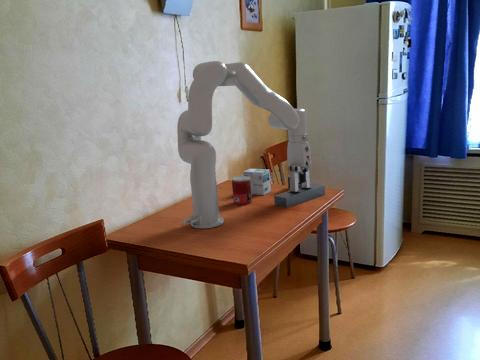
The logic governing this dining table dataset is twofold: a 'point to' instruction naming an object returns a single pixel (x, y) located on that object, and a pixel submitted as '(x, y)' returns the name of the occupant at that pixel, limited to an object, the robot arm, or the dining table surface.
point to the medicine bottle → (289, 181)
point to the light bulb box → (259, 180)
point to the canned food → (241, 190)
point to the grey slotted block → (299, 195)
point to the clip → (298, 180)
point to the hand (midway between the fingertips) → (299, 181)
